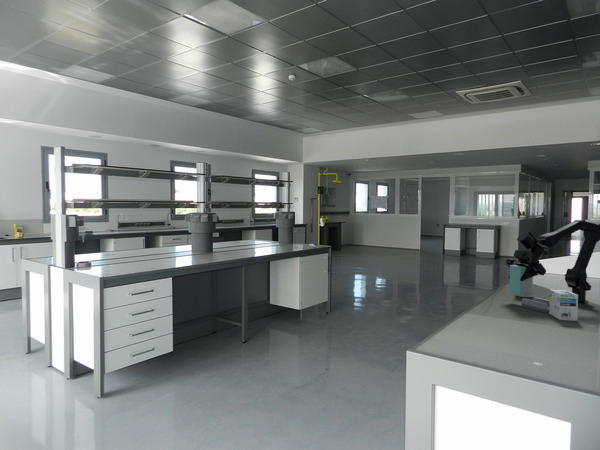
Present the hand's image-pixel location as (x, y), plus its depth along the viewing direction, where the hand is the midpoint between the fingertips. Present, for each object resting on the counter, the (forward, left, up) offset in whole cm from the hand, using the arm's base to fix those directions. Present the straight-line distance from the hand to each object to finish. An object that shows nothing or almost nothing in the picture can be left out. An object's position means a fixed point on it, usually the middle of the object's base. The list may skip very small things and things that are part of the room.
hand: (515, 279), depth 186 cm
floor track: (+2, +12, -11) cm, 16 cm away
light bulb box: (+11, +23, -12) cm, 28 cm away
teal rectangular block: (-1, +1, -7) cm, 7 cm away
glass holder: (-26, -5, -12) cm, 29 cm away
